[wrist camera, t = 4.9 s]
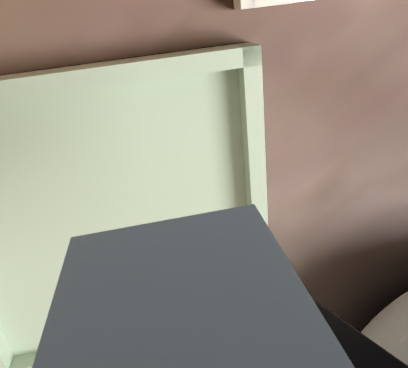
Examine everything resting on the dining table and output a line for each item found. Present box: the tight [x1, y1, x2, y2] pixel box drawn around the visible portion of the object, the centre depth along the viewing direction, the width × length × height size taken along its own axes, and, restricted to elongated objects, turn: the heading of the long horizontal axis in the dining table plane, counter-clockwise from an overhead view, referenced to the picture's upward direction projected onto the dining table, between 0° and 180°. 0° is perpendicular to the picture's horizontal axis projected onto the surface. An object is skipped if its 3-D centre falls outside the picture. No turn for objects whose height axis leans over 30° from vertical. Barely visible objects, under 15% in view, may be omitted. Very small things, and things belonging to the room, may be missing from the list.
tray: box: [0, 42, 268, 368], centre depth 18 cm, size 16×16×2 cm
